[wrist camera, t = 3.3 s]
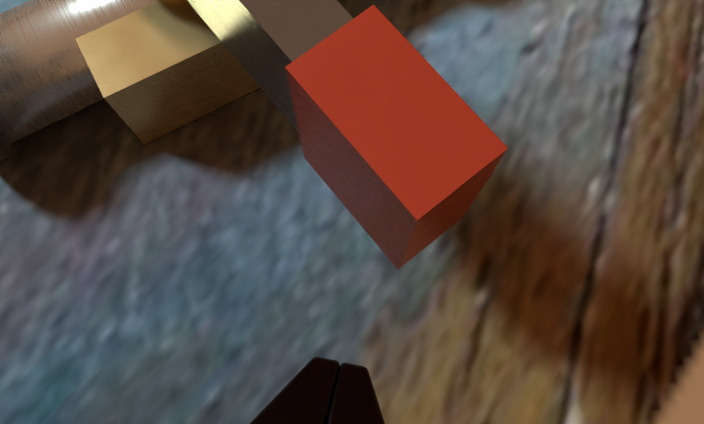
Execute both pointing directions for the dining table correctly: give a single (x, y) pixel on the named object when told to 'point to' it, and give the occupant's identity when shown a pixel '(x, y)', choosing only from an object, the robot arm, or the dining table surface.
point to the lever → (364, 114)
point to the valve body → (112, 65)
